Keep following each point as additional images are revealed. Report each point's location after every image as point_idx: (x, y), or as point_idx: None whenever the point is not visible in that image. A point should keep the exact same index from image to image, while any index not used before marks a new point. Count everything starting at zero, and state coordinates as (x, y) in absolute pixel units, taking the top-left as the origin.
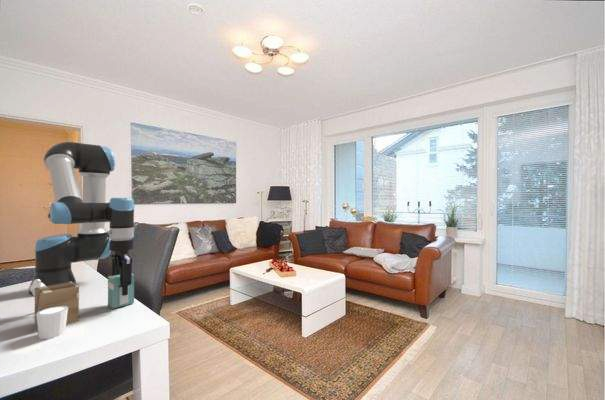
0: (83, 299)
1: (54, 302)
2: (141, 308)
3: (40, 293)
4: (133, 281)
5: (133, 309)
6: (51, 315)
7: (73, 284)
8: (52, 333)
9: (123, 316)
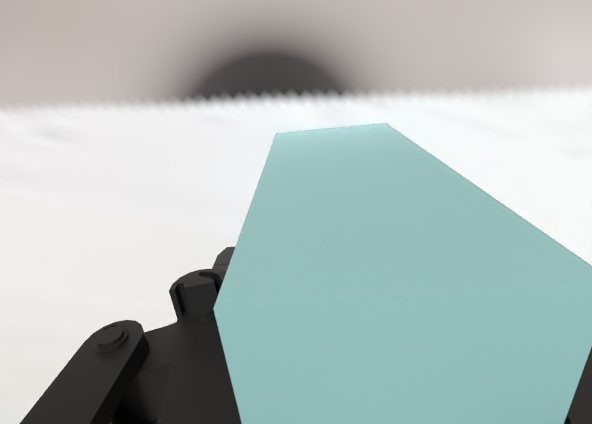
0: (25, 339)
1: None
2: (553, 107)
3: None
4: (488, 207)
5: (513, 161)
6: None
7: None
8: None
9: (579, 244)
